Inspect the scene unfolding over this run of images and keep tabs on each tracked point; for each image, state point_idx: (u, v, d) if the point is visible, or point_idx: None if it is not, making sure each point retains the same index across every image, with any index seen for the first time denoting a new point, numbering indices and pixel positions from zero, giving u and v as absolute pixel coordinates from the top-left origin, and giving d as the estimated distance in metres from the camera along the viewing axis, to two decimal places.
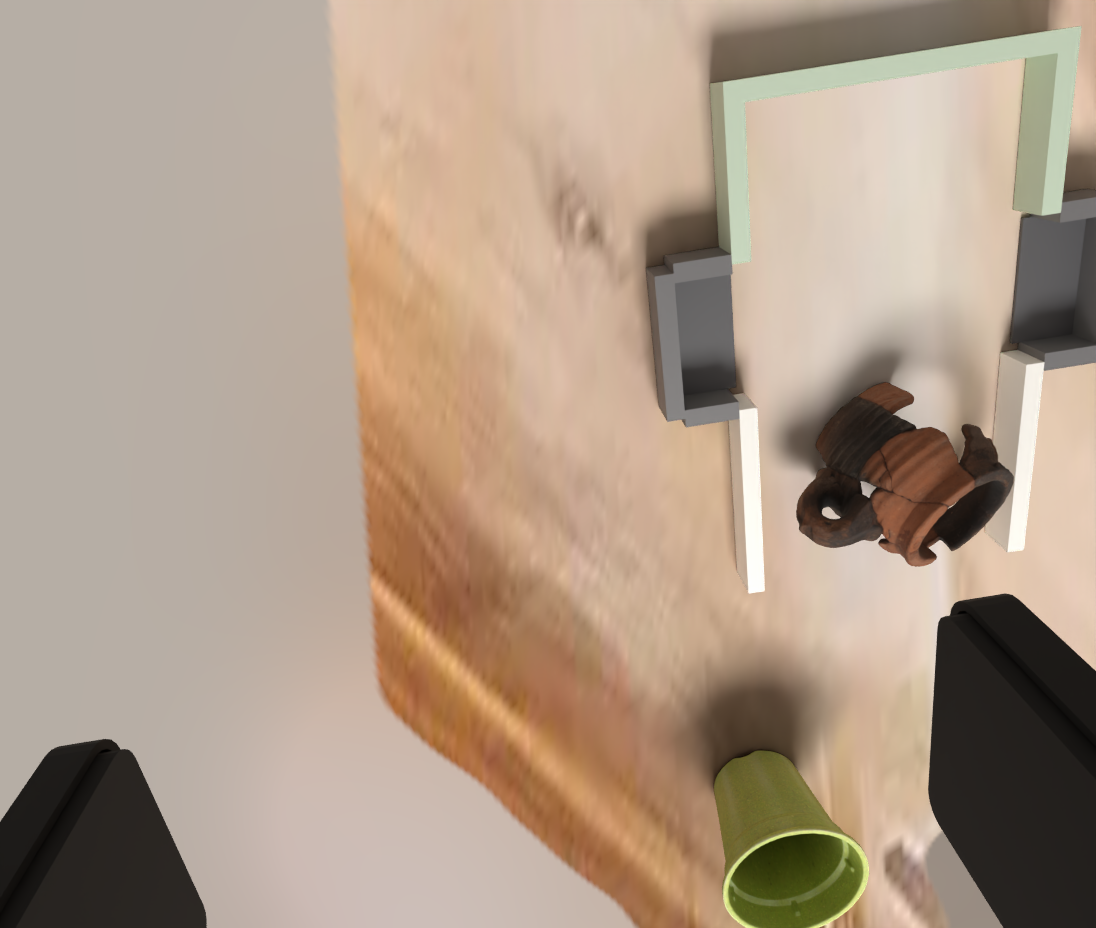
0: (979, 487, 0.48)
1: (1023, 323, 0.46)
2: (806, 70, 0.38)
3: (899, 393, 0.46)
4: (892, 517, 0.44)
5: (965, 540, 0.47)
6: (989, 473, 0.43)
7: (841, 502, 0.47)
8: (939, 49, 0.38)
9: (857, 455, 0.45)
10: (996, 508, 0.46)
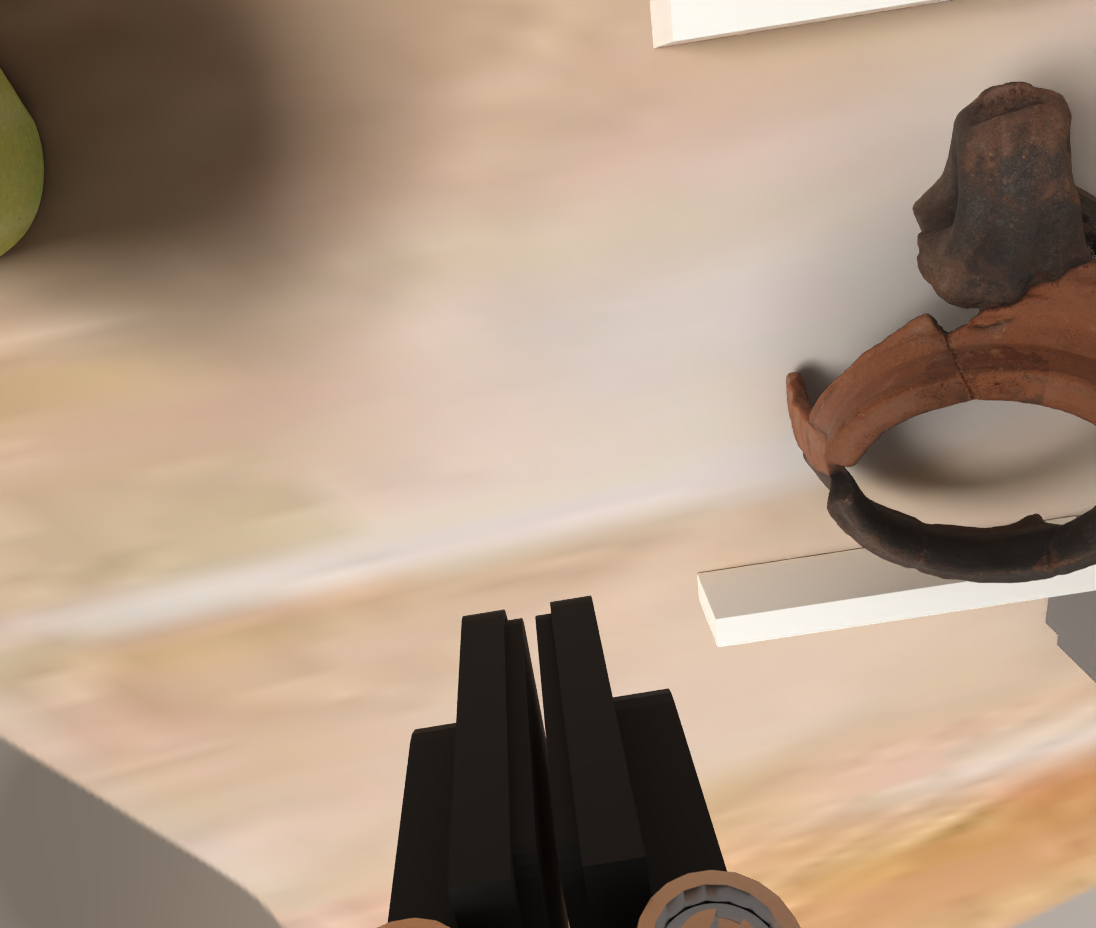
0: (936, 528, 0.22)
1: None
2: None
3: None
4: (1059, 318, 0.17)
5: (863, 523, 0.21)
6: None
7: None
8: None
9: None
10: (942, 566, 0.21)
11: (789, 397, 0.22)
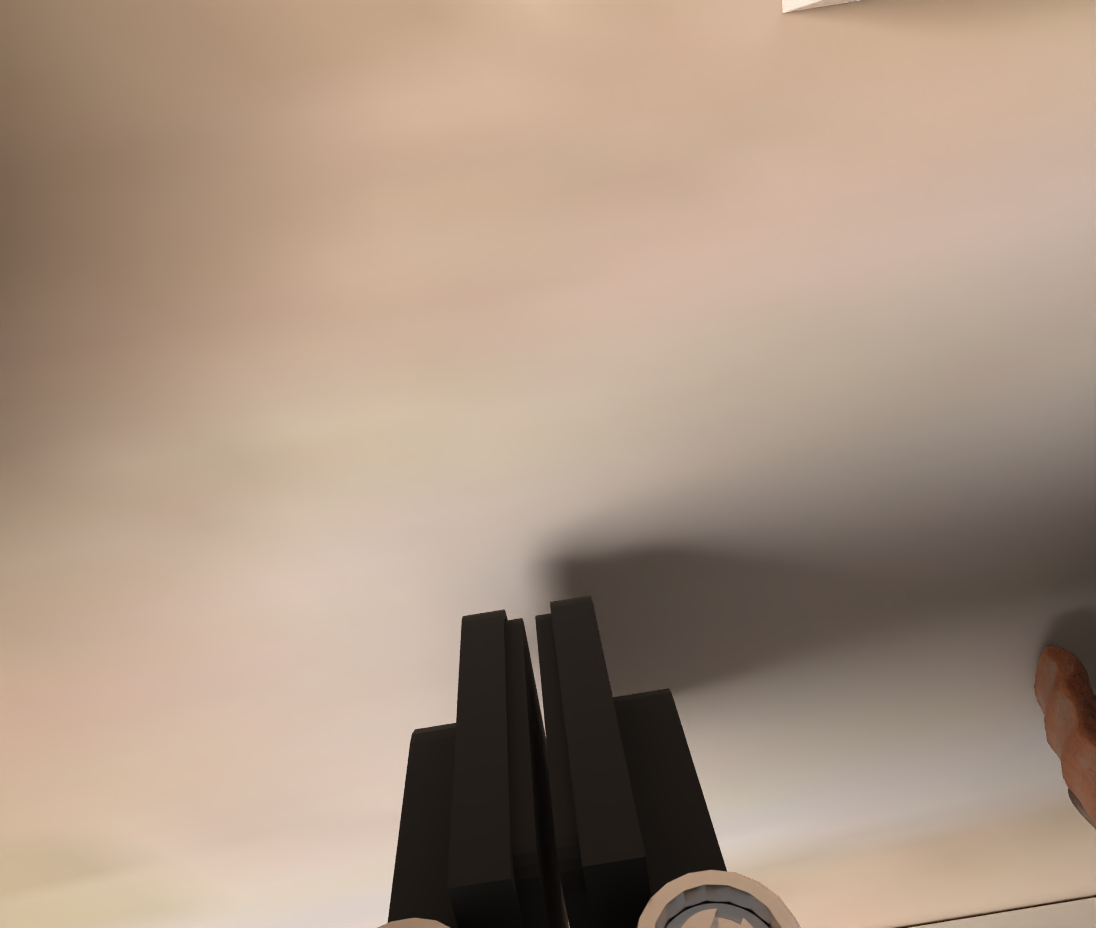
0: None
1: None
2: None
3: None
4: None
5: None
6: None
7: None
8: None
9: None
10: None
11: (1062, 707, 0.11)
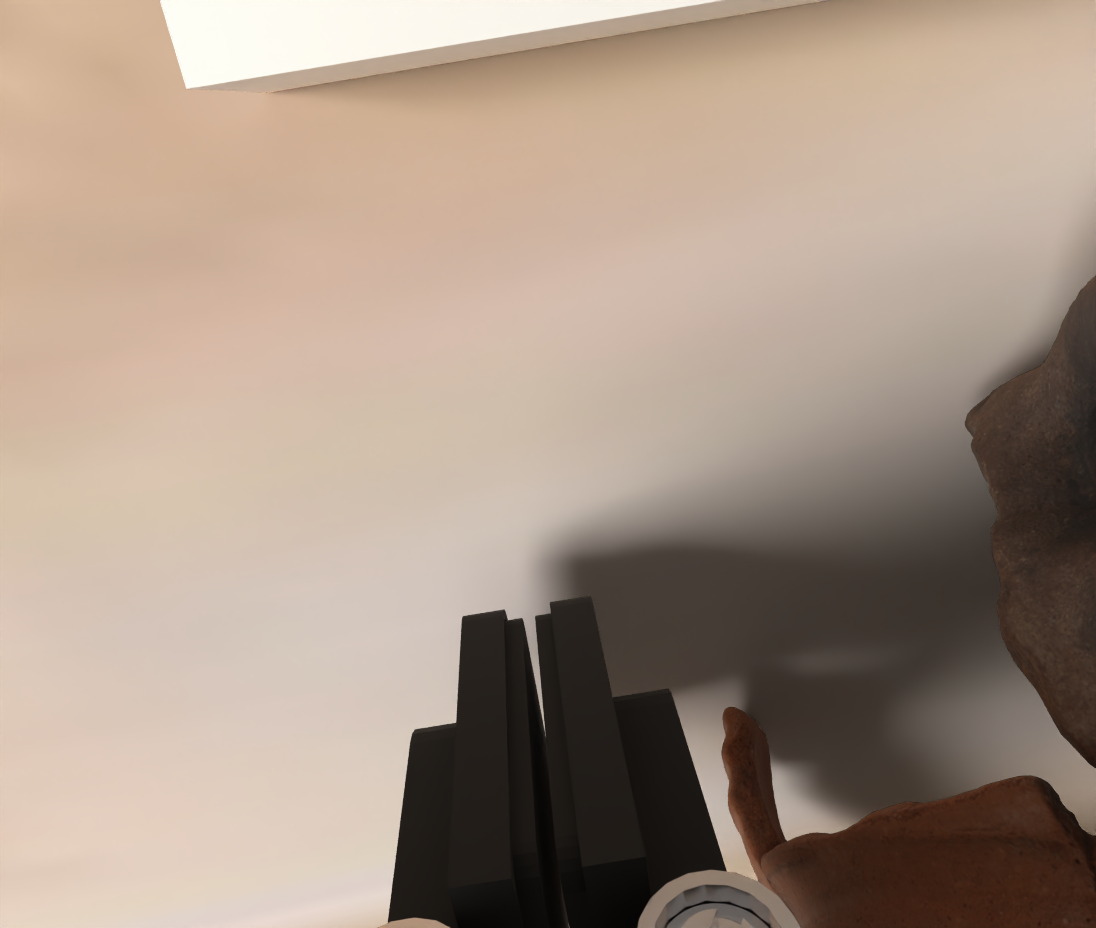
0: None
1: None
2: None
3: None
4: None
5: None
6: None
7: None
8: None
9: None
10: None
11: (727, 772, 0.11)
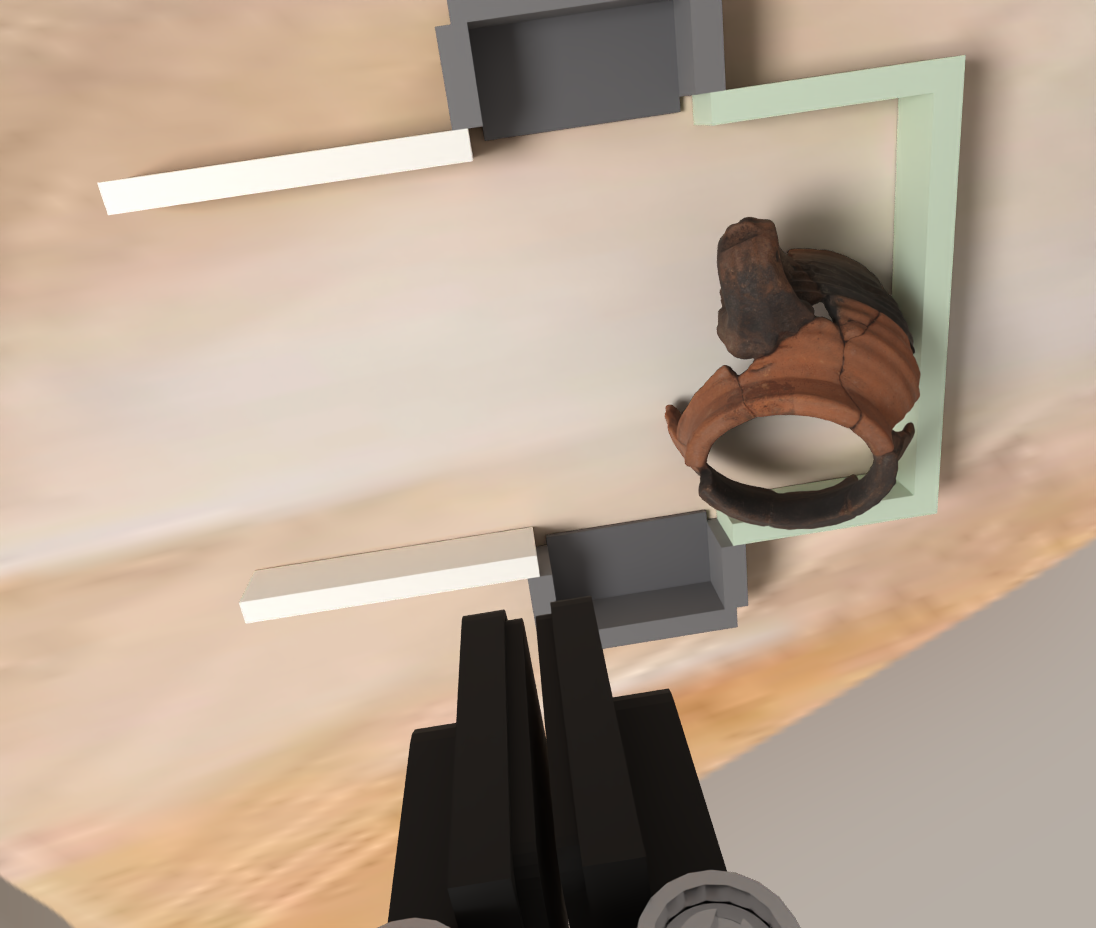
0: (784, 495, 0.32)
1: (572, 544, 0.35)
2: (956, 181, 0.28)
3: None
4: (800, 358, 0.27)
5: (723, 501, 0.31)
6: (895, 470, 0.28)
7: None
8: (945, 355, 0.31)
9: (849, 287, 0.29)
10: (784, 521, 0.31)
11: (667, 423, 0.32)
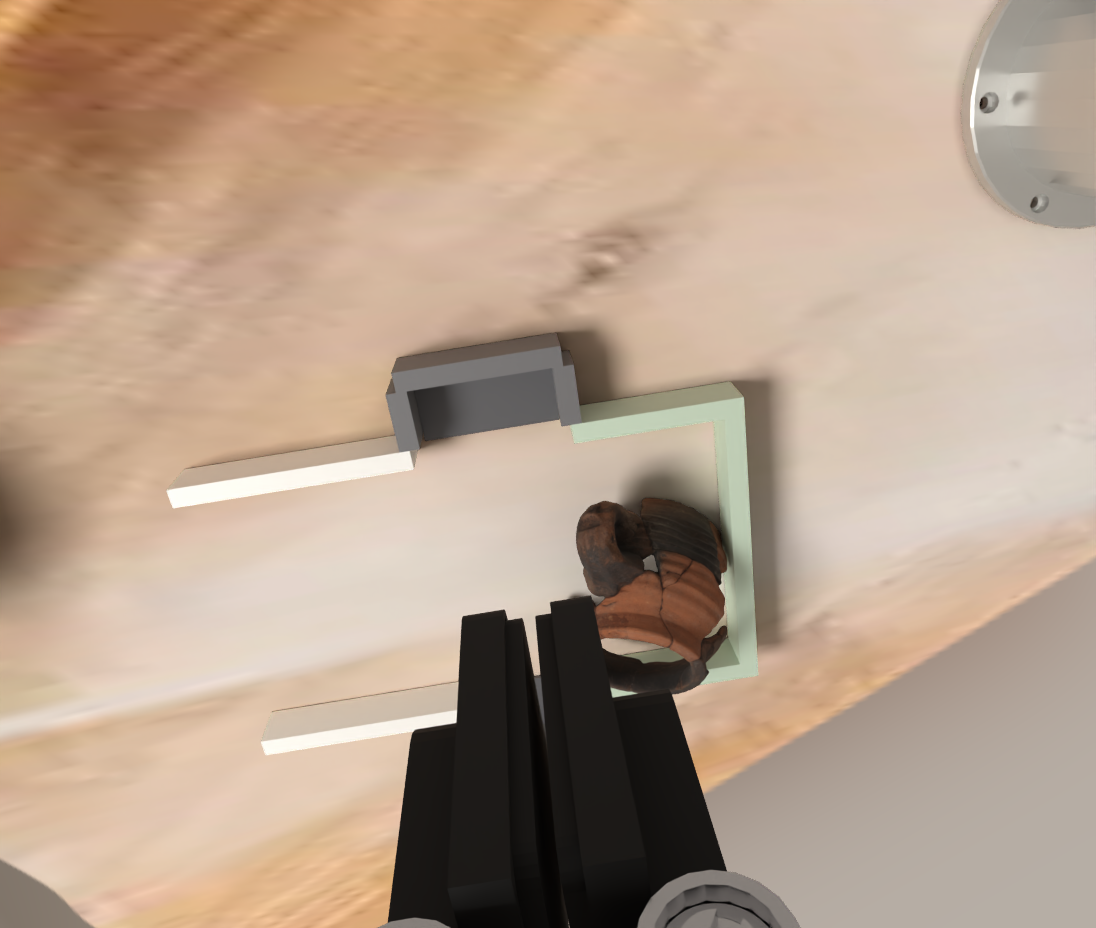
0: (645, 667, 0.46)
1: None
2: (746, 470, 0.41)
3: None
4: (633, 600, 0.40)
5: None
6: (704, 668, 0.41)
7: None
8: (752, 575, 0.44)
9: (674, 541, 0.42)
10: (640, 690, 0.44)
11: None
